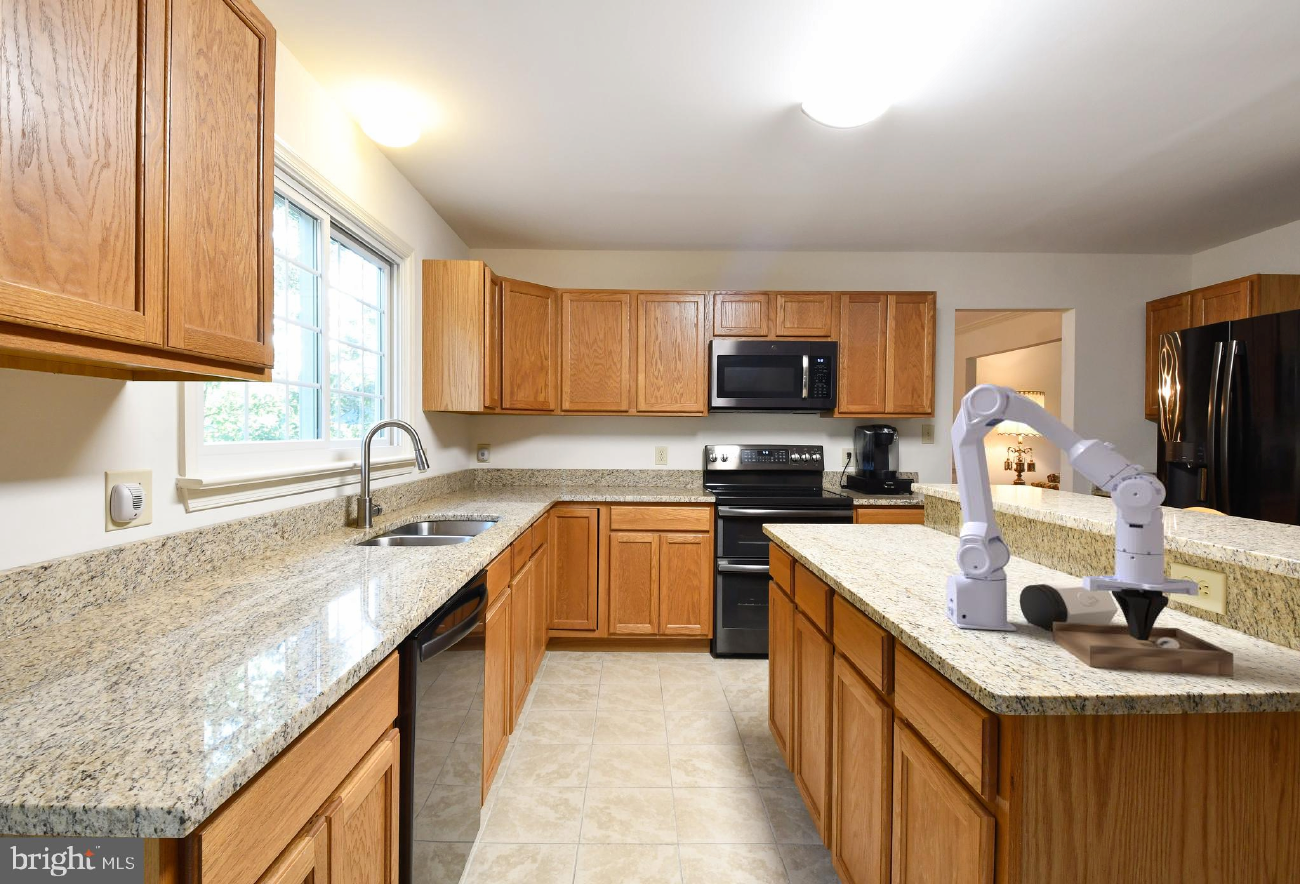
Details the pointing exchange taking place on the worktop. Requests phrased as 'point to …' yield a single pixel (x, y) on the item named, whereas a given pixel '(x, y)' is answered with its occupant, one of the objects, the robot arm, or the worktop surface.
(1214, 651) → the board
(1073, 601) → the jar
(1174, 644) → the ball
